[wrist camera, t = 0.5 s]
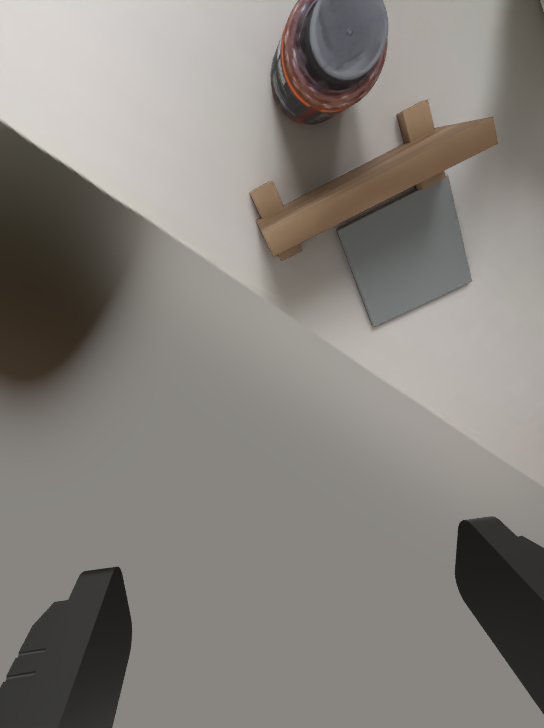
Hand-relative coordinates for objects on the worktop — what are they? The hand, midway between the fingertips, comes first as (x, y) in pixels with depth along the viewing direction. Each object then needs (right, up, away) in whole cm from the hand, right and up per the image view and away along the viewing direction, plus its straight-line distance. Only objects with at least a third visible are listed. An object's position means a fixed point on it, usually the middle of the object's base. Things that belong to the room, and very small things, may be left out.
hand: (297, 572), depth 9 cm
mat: (+12, +15, +27) cm, 33 cm away
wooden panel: (+6, +20, +24) cm, 31 cm away
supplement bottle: (+2, +26, +20) cm, 33 cm away
